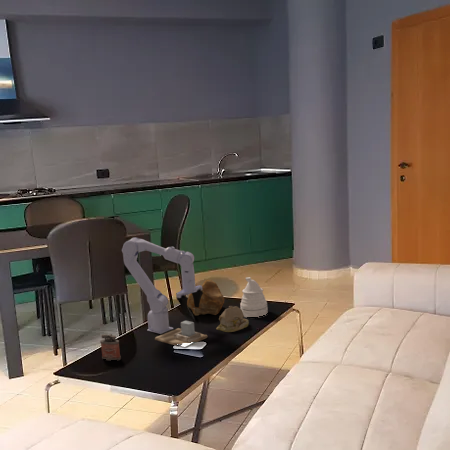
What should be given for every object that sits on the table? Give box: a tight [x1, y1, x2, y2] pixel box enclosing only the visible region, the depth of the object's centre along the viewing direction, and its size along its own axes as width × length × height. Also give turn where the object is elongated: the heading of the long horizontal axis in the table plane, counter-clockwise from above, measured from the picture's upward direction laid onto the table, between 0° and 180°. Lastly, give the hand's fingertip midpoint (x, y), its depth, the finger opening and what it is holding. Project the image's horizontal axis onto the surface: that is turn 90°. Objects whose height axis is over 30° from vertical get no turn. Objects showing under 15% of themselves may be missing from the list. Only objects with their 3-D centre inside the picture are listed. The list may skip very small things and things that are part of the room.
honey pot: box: [239, 276, 269, 318], centre depth 266 cm, size 13×13×18 cm
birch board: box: [154, 327, 208, 346], centre depth 239 cm, size 18×14×3 cm
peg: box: [180, 320, 196, 337], centre depth 236 cm, size 3×5×7 cm, turn 48°
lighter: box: [99, 333, 122, 361], centre depth 221 cm, size 8×3×10 cm, turn 71°
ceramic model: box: [215, 305, 250, 333], centre depth 249 cm, size 14×11×10 cm
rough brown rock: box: [187, 279, 225, 316], centre depth 273 cm, size 23×17×15 cm
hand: (190, 309), depth 249 cm, fingers open, 7 cm apart
